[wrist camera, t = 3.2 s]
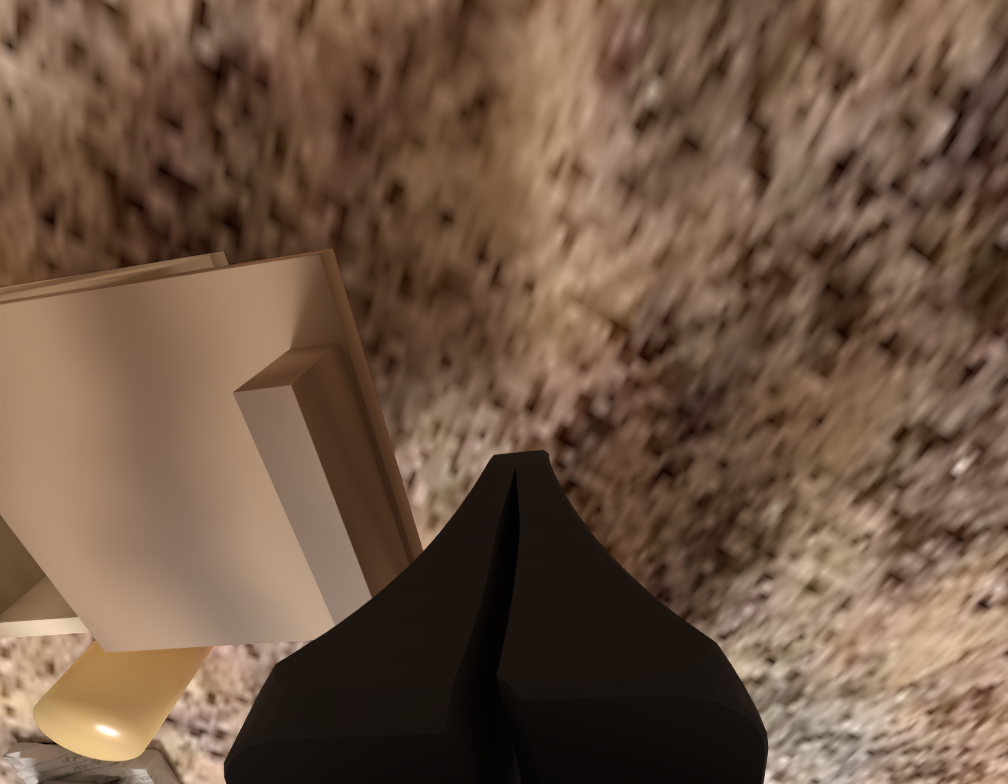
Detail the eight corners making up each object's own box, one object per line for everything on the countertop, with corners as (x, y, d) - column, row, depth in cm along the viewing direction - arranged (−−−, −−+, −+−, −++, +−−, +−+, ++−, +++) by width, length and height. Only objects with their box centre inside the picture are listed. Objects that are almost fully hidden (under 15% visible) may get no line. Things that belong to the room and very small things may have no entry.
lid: (332, 248, 11) (262, 278, 8) (441, 611, 16) (421, 709, 13) (-103, 317, 12) (-298, 364, 9) (123, 632, 17) (41, 725, 14)
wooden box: (223, 251, 16) (105, 284, 12) (330, 523, 21) (277, 619, 17) (-74, 299, 18) (-282, 345, 13) (93, 544, 23) (-16, 639, 18)
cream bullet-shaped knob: (191, 592, 24) (112, 692, 19) (229, 656, 26) (165, 759, 21) (106, 599, 24) (10, 697, 20) (150, 660, 26) (71, 762, 22)
